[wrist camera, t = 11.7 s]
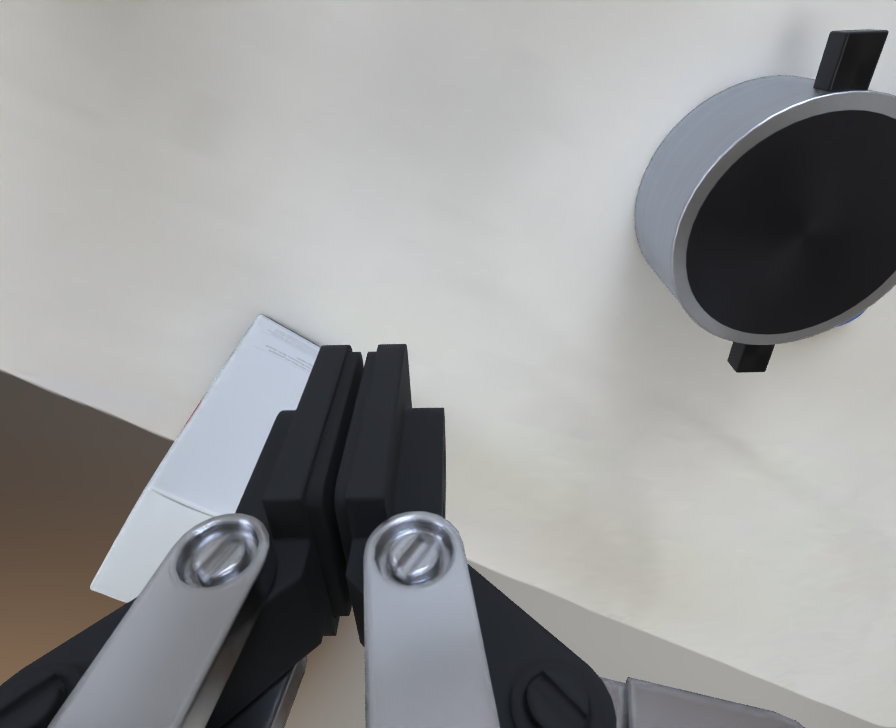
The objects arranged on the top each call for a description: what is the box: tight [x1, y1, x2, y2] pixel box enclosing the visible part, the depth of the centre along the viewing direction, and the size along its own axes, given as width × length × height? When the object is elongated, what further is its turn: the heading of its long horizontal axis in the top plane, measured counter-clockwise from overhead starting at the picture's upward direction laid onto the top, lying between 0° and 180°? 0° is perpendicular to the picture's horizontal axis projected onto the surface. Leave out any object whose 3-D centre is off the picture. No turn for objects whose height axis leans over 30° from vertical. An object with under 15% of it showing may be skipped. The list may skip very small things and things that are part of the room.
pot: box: [635, 29, 896, 372], centre depth 27 cm, size 16×12×6 cm
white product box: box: [90, 315, 320, 603], centre depth 31 cm, size 9×9×15 cm
